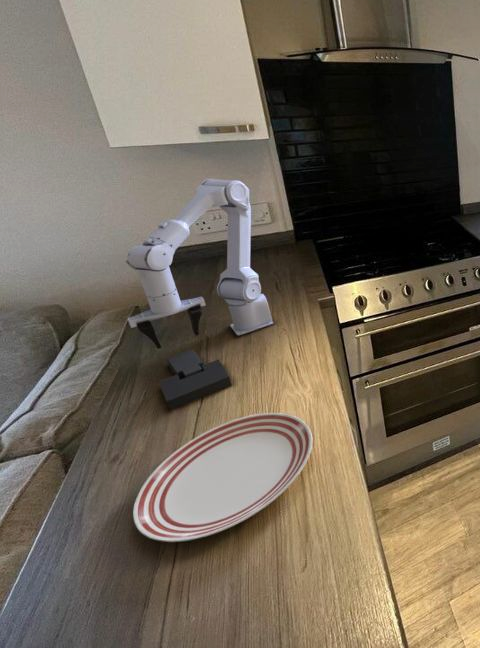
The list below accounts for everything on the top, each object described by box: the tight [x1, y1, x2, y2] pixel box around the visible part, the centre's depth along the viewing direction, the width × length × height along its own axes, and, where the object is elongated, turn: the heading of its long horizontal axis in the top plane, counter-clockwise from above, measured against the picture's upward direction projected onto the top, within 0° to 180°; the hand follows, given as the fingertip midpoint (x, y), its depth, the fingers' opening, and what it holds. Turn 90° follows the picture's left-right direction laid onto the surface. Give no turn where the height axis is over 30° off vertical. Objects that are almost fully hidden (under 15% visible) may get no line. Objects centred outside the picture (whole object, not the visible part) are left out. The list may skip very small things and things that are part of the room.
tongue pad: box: [166, 348, 204, 380], centre depth 111 cm, size 5×12×3 cm, turn 51°
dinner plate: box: [132, 412, 314, 543], centre depth 81 cm, size 28×27×3 cm
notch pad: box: [158, 359, 233, 411], centre depth 105 cm, size 12×10×2 cm
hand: (178, 340), depth 110 cm, fingers open, 7 cm apart
